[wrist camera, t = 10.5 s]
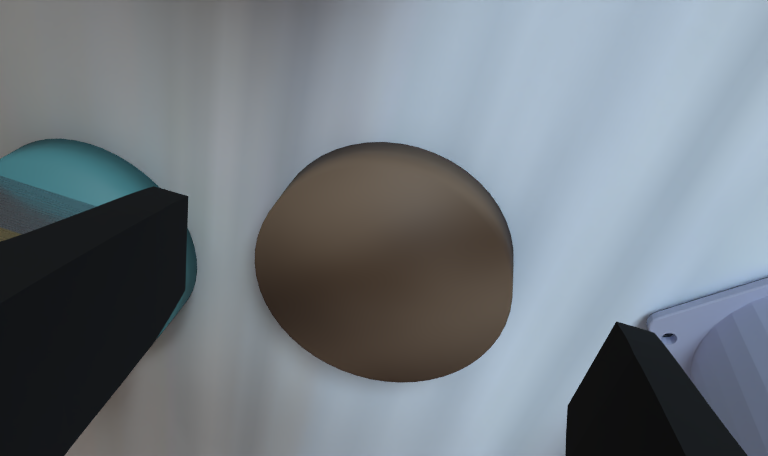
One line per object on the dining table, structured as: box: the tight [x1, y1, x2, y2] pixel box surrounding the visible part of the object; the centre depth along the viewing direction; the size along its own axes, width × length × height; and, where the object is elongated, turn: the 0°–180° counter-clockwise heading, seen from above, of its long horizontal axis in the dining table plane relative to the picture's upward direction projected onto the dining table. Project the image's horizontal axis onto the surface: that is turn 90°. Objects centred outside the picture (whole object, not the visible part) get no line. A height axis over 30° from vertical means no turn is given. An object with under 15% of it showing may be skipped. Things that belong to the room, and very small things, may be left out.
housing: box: [0, 176, 97, 242], centre depth 21 cm, size 7×4×5 cm, turn 167°
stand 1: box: [0, 139, 197, 338], centre depth 24 cm, size 9×9×2 cm
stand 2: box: [255, 142, 513, 382], centre depth 21 cm, size 9×9×2 cm
